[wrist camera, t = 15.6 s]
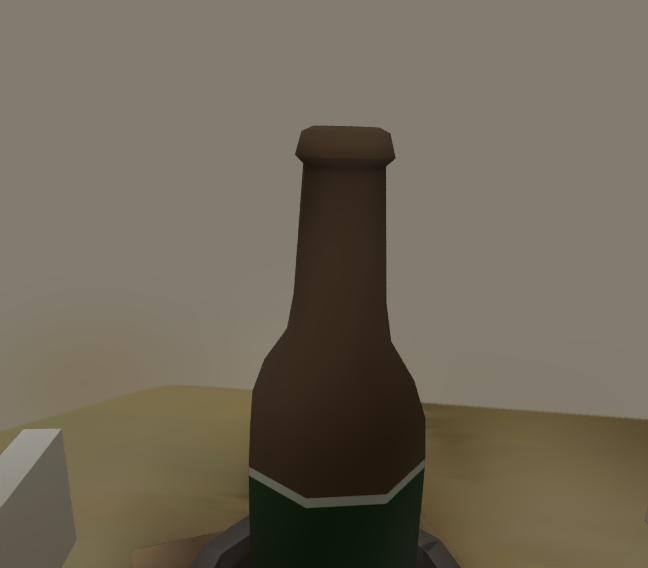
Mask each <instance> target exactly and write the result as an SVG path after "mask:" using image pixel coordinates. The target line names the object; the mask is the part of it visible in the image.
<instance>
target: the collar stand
mask: <svg viewBox="0 0 648 568" xmlns="http://www.w3.org/2000/svg"><path fill="white" fill-rule="evenodd" d="M131 568H250V515H249V516H247V517H245V518H244V519H242V520H241V521H239V522H238V523H236V524H235V525H233V526H232V527H230V528H229V529H227V530H226V531H222V532H217V533H213V534H208V535H203V536H198V537H193V538H188V539H184V540H179V541H174V542H169V543H164V544H159V545H155V546H150V547H145V548H140V549H135V550H131ZM416 568H463V567H462V566H461V564H460V563H459V562H458V560H457V559H456V558H455V556H454V555H453V554H452V552H451V551H450V550H449V548H448V547H447V546H446V544H445V543H444V542H443V540H442V539H441V538H440V536H439V535H438V534H437V532H436V531H435V530H434V528H433V527H432V526H431V524H430V523H429V522H428V520H427V519H426V518H425V516H424V515H423V514H422V512H421V514H420V526H419V537H418V549H417V560H416Z"/></svg>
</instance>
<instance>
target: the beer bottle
mask: <svg viewBox="0 0 648 568" xmlns="http://www.w3.org/2000/svg"><path fill="white" fill-rule="evenodd" d="M295 155H296V156H297V157H298V158H299V159H300V160H301V161H302V162H303V174H302V188H301V203H300V215H299V230H298V243H297V256H296V271H295V285H294V295H293V300H292V305H291V310H290V316H289V321H288V327H287V329H286V330H285V332H284V333H283V335H282V336H281V337H280V339H279V340H278V342H277V343H276V344H275V346H274V347H273V348H272V350H271V351H270V352H269V354H268V355H267V357H266V358H265V359H264V362H263V364H262V367H261V370H260V372H259V375H258V378H257V381H256V383H255V386H254V389H253V393H252V408H251V422H250V448H249V513H250V568H416V560H417V549H418V537H419V526H420V514H421V503H422V492H423V480H424V469H425V416H424V412H423V409H422V405H421V402H420V399H419V396H418V392H417V388H416V385H415V382H414V380H413V378H412V376H411V375H410V373H409V371H408V369H407V368H406V366H405V364H404V363H403V361H402V359H401V357H400V356H399V354H398V352H397V351H396V349H395V347H394V346H393V344H392V342H391V337H390V329H389V320H388V312H387V304H386V166H387V165H388V164H389V163H391V162H392V161H393V160H394V159H395V153H394V148H393V144H392V139H391V134H390V133H389V132H387V131H384V130H383V129H381V128H375V127H353V126H311V127H309V128H307V129H305V130H303V131H301V135H300V139H299V142H298V145H297V149H296V153H295Z"/></svg>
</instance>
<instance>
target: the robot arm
mask: <svg viewBox="0 0 648 568" xmlns="http://www.w3.org/2000/svg"><path fill="white" fill-rule="evenodd" d="M645 522H646V523H647V524H648V508H647V512H646V517H645ZM75 541H76V532H75V525H74V517H73V510H72V502H71V495H70V487H69V480H68V472H67V465H66V458H65V450H64V443H63V435H62V429H24V430H23V431H22V432H21V433H20V434H19V435H18V436H17V437H16V438H15V440H14V441H13V442H12V443H11V444H10V445H9V446H8V447H7V448H6V450H5V451H4V452H3V453H2V454H1V455H0V568H62V566H63V564H64V562H65V560H66V558H67V556H68V554H69V553H70V551H71V549H72V547H73V545H74V543H75Z"/></svg>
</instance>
